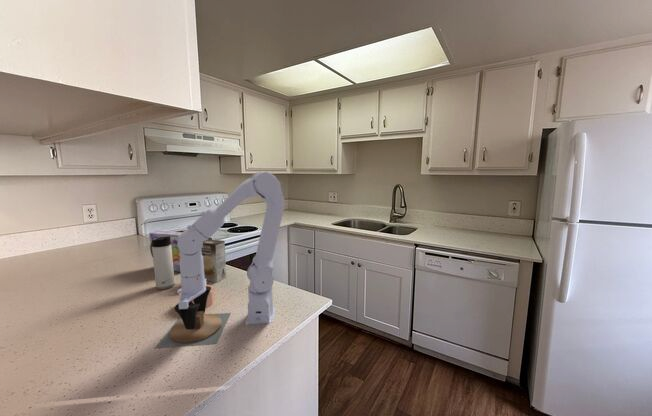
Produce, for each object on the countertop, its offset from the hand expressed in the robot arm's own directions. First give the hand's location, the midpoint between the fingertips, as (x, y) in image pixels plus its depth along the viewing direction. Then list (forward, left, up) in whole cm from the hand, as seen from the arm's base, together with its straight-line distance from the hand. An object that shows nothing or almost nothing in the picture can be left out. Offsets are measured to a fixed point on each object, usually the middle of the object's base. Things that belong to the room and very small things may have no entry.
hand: (195, 320), depth 74 cm
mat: (0, 0, -3) cm, 3 cm away
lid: (0, 0, -3) cm, 3 cm away
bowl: (+15, +5, -3) cm, 16 cm away
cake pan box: (+52, +30, -3) cm, 60 cm away
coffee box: (+38, +7, -3) cm, 39 cm away
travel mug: (+32, +23, -3) cm, 39 cm away
